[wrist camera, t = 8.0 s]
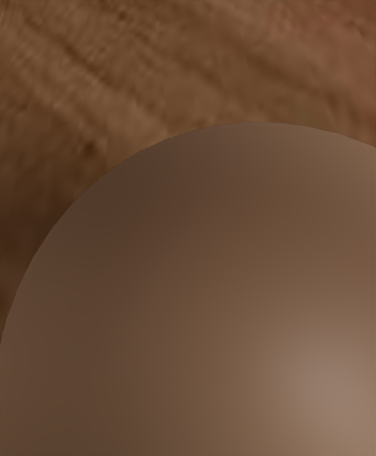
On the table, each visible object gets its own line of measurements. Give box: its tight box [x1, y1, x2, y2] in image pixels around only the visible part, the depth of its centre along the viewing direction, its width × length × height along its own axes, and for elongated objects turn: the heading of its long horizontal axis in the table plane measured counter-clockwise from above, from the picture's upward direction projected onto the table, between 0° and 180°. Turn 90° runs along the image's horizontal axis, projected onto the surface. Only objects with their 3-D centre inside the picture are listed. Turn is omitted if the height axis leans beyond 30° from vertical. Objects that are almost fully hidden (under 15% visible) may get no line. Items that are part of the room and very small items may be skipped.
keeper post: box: [0, 122, 376, 456], centre depth 8 cm, size 6×6×12 cm
